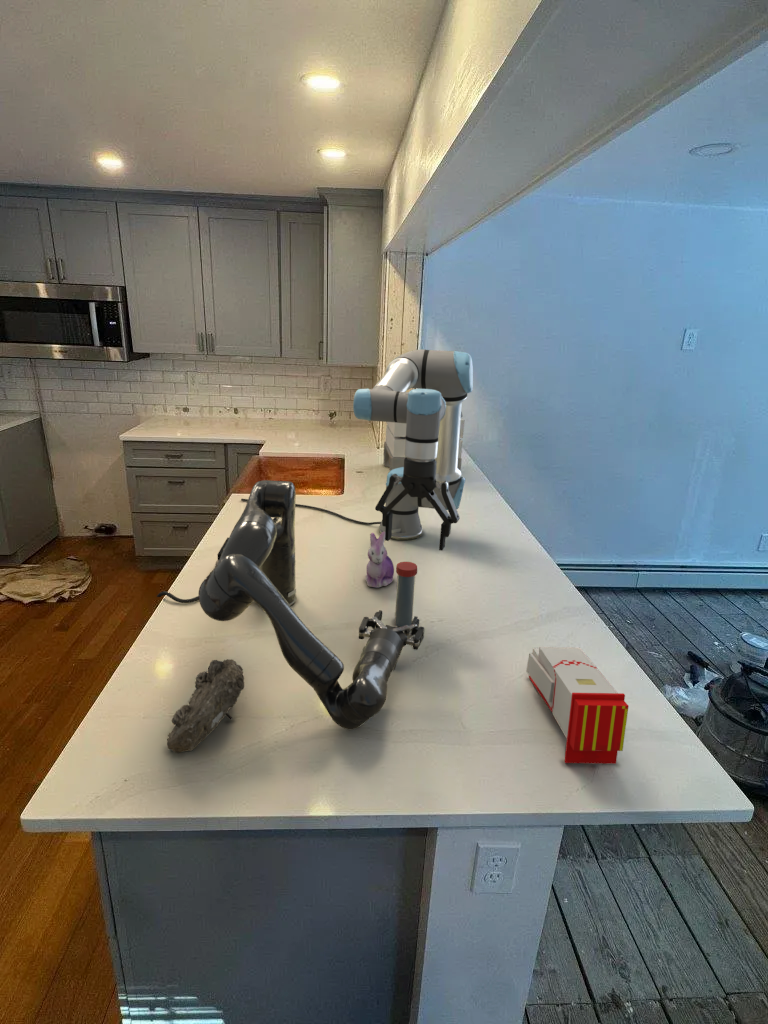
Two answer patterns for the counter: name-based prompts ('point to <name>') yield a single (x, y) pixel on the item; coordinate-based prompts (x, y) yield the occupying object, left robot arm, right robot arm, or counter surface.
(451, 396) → the right robot arm
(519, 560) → the counter surface
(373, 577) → the figurine
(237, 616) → the left robot arm
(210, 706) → the fossil
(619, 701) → the toy
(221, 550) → the figurine character
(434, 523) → the counter surface
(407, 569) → the lid
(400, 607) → the jar
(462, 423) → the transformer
